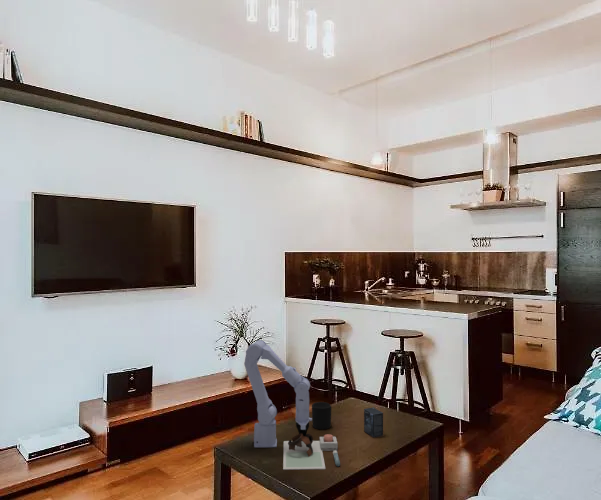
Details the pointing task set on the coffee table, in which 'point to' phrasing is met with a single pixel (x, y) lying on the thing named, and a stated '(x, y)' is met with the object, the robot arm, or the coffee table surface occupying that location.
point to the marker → (336, 458)
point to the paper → (303, 457)
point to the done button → (328, 438)
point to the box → (373, 422)
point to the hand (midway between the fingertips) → (302, 440)
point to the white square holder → (328, 444)
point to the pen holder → (321, 415)
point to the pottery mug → (298, 442)
